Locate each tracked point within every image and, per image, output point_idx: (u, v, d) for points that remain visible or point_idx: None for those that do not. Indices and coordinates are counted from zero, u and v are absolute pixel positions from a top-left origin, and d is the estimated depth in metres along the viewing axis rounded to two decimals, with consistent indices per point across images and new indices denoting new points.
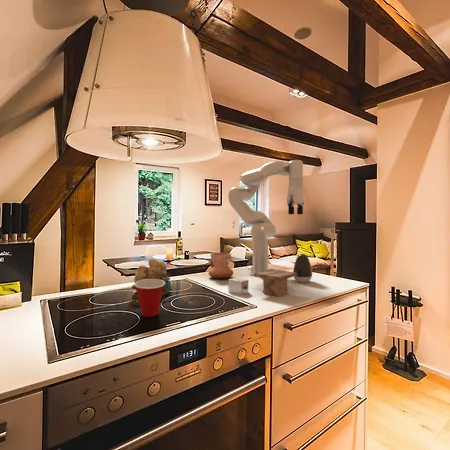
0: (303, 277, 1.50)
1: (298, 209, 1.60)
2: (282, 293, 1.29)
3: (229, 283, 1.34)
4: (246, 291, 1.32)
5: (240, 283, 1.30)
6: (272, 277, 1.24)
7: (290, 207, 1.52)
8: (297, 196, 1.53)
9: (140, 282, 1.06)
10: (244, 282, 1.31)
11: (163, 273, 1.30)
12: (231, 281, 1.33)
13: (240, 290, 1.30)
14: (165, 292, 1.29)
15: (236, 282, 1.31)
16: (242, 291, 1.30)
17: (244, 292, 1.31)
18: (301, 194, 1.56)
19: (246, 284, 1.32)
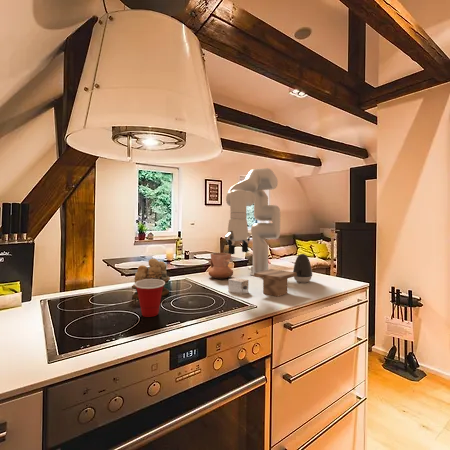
0: (303, 277, 1.50)
1: (243, 246, 1.37)
2: (282, 293, 1.29)
3: (229, 283, 1.34)
4: (246, 291, 1.32)
5: (240, 283, 1.30)
6: (272, 277, 1.24)
7: (230, 246, 1.29)
8: (238, 232, 1.30)
9: (140, 282, 1.06)
10: (244, 282, 1.31)
11: (163, 273, 1.30)
12: (231, 281, 1.33)
13: (240, 290, 1.30)
14: (165, 292, 1.29)
15: (236, 282, 1.31)
16: (242, 291, 1.30)
17: (244, 292, 1.31)
18: (245, 229, 1.33)
19: (246, 284, 1.32)
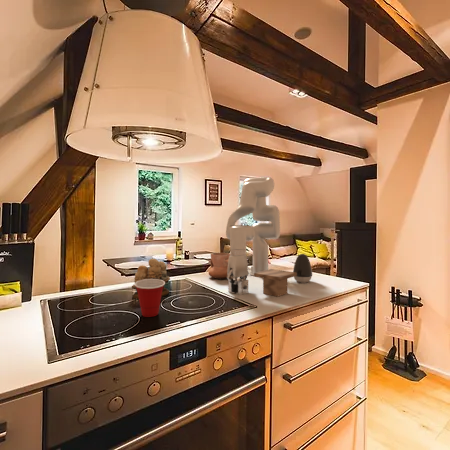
0: (303, 277, 1.50)
1: None
2: (282, 293, 1.29)
3: (229, 283, 1.34)
4: (246, 291, 1.32)
5: (240, 283, 1.30)
6: (272, 277, 1.24)
7: (233, 284, 1.31)
8: (238, 269, 1.30)
9: (140, 282, 1.06)
10: (244, 282, 1.31)
11: (163, 273, 1.30)
12: None
13: (240, 290, 1.30)
14: (165, 292, 1.29)
15: None
16: (242, 291, 1.30)
17: (244, 292, 1.31)
18: (244, 265, 1.34)
19: (246, 284, 1.32)
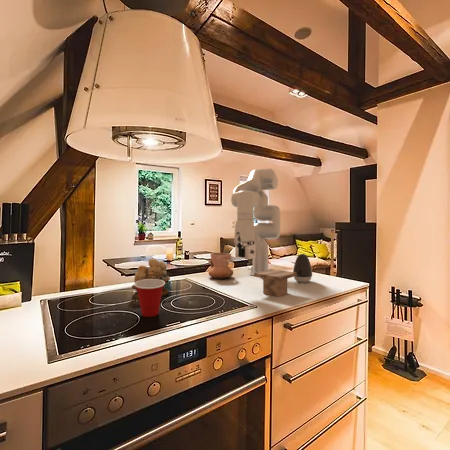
0: (303, 277, 1.50)
1: None
2: (282, 293, 1.29)
3: (236, 248, 1.34)
4: (253, 256, 1.31)
5: (247, 247, 1.29)
6: (272, 277, 1.24)
7: (240, 249, 1.30)
8: (245, 233, 1.29)
9: (140, 282, 1.06)
10: (251, 246, 1.30)
11: (163, 273, 1.30)
12: None
13: (247, 254, 1.29)
14: (165, 292, 1.29)
15: None
16: (249, 255, 1.29)
17: (251, 256, 1.30)
18: (252, 230, 1.33)
19: (253, 249, 1.31)
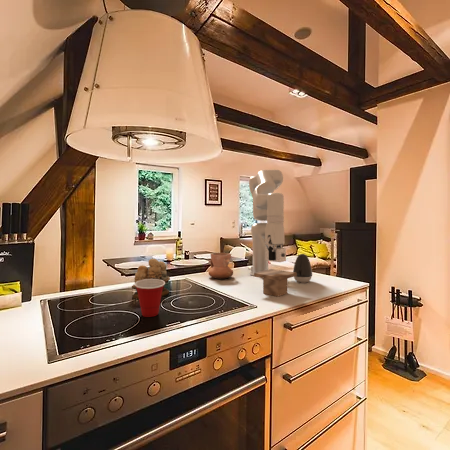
0: (303, 277, 1.50)
1: None
2: (282, 293, 1.29)
3: (266, 251, 1.32)
4: (284, 259, 1.29)
5: (278, 250, 1.27)
6: (272, 277, 1.24)
7: (270, 252, 1.28)
8: (276, 236, 1.28)
9: (140, 282, 1.06)
10: (282, 249, 1.28)
11: (163, 273, 1.30)
12: None
13: (278, 257, 1.27)
14: (165, 292, 1.29)
15: None
16: (281, 258, 1.27)
17: (282, 260, 1.28)
18: (282, 233, 1.31)
19: (284, 252, 1.29)
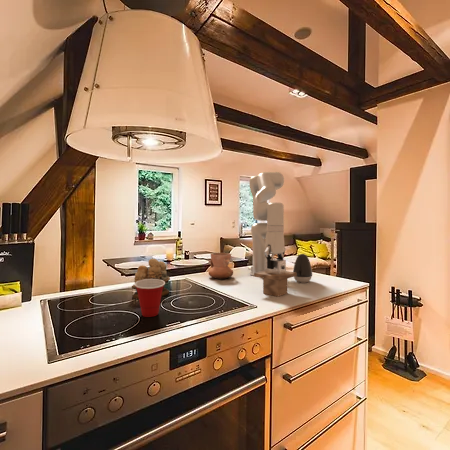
0: (303, 277, 1.50)
1: None
2: (282, 293, 1.29)
3: (266, 263, 1.32)
4: (284, 271, 1.30)
5: (278, 263, 1.27)
6: (272, 277, 1.24)
7: (269, 261, 1.28)
8: (276, 245, 1.28)
9: (140, 282, 1.06)
10: (282, 262, 1.28)
11: (163, 273, 1.30)
12: None
13: (278, 270, 1.27)
14: (165, 292, 1.29)
15: (274, 262, 1.29)
16: (280, 270, 1.28)
17: (282, 272, 1.29)
18: (282, 242, 1.31)
19: (284, 264, 1.30)
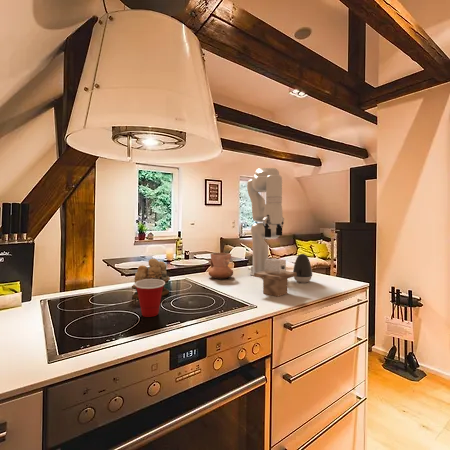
0: (303, 277, 1.50)
1: (277, 229, 1.42)
2: (282, 293, 1.29)
3: (266, 263, 1.32)
4: (284, 271, 1.30)
5: (278, 263, 1.27)
6: (272, 277, 1.24)
7: (266, 229, 1.34)
8: (275, 216, 1.34)
9: (140, 282, 1.06)
10: (282, 262, 1.28)
11: (163, 273, 1.30)
12: (268, 261, 1.31)
13: (278, 270, 1.27)
14: (165, 292, 1.29)
15: (274, 262, 1.29)
16: (280, 270, 1.28)
17: (282, 272, 1.29)
18: (280, 213, 1.37)
19: (284, 264, 1.30)
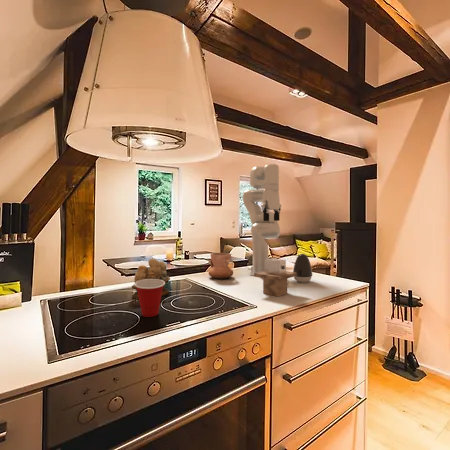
0: (303, 277, 1.50)
1: (275, 215, 1.54)
2: (282, 293, 1.29)
3: (266, 263, 1.32)
4: (284, 271, 1.30)
5: (278, 263, 1.27)
6: (272, 277, 1.24)
7: (265, 213, 1.46)
8: (272, 201, 1.46)
9: (140, 282, 1.06)
10: (282, 262, 1.28)
11: (163, 273, 1.30)
12: (268, 261, 1.31)
13: (278, 270, 1.27)
14: (165, 292, 1.29)
15: (274, 262, 1.29)
16: (280, 270, 1.28)
17: (282, 272, 1.29)
18: (277, 200, 1.50)
19: (284, 264, 1.30)
